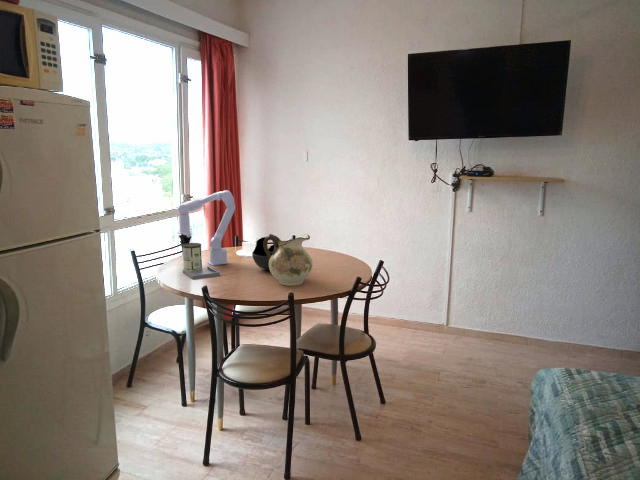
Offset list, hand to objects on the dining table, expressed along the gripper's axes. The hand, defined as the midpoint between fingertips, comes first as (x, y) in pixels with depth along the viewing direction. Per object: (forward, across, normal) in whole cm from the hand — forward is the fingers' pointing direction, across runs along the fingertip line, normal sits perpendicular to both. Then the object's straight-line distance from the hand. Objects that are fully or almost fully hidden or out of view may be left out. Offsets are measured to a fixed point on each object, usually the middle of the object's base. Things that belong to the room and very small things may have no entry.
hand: (185, 247), depth 267 cm
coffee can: (+11, +11, 0) cm, 15 cm away
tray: (+10, +24, 0) cm, 26 cm away
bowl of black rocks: (+11, +36, +36) cm, 52 cm away
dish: (+11, -7, +49) cm, 50 cm away
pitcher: (+11, +64, +32) cm, 73 cm away
